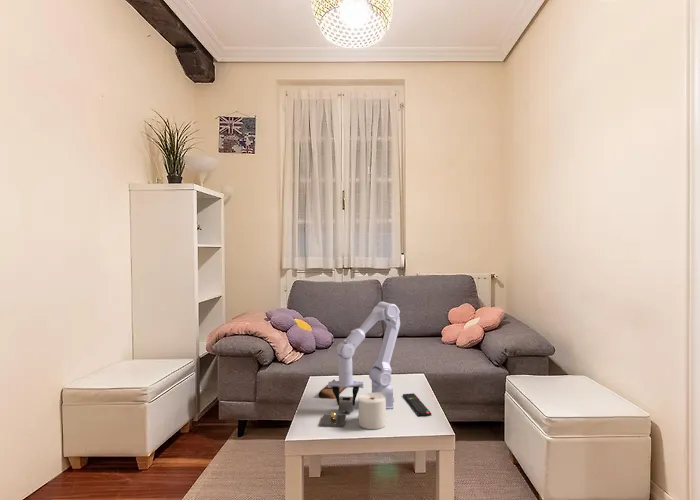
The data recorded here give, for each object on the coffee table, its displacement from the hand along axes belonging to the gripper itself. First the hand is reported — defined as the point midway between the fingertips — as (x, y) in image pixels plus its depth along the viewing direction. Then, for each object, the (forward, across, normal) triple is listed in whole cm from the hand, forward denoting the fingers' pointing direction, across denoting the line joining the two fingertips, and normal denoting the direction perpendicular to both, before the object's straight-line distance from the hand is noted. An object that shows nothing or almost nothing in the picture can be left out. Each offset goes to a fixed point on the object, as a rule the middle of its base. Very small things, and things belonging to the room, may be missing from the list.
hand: (346, 404), depth 175 cm
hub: (+3, +4, +10) cm, 11 cm away
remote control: (+4, -29, -8) cm, 31 cm away
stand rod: (+3, 0, 0) cm, 3 cm away
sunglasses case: (+4, +8, -23) cm, 25 cm away
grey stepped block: (+2, 0, 0) cm, 2 cm away
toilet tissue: (+3, -11, +10) cm, 16 cm away
